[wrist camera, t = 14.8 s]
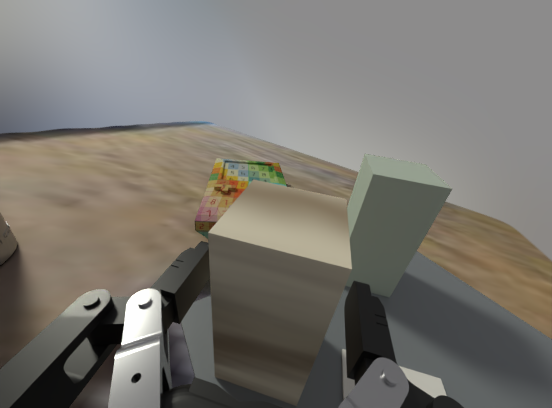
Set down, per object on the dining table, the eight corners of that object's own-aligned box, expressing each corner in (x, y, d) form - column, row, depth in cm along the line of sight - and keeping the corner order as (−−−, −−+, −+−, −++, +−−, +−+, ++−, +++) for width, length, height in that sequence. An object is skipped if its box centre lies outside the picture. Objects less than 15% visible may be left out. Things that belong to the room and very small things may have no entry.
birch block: (296, 405, 14) (351, 269, 8) (214, 376, 15) (208, 232, 9) (306, 324, 19) (346, 199, 13) (244, 305, 19) (253, 179, 13)
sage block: (389, 297, 22) (452, 189, 16) (333, 282, 23) (373, 174, 17) (380, 259, 27) (425, 164, 21) (333, 248, 27) (364, 153, 21)
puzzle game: (194, 214, 24) (216, 153, 41) (196, 247, 26) (216, 177, 43) (301, 218, 25) (279, 158, 42) (294, 249, 28) (276, 181, 45)
